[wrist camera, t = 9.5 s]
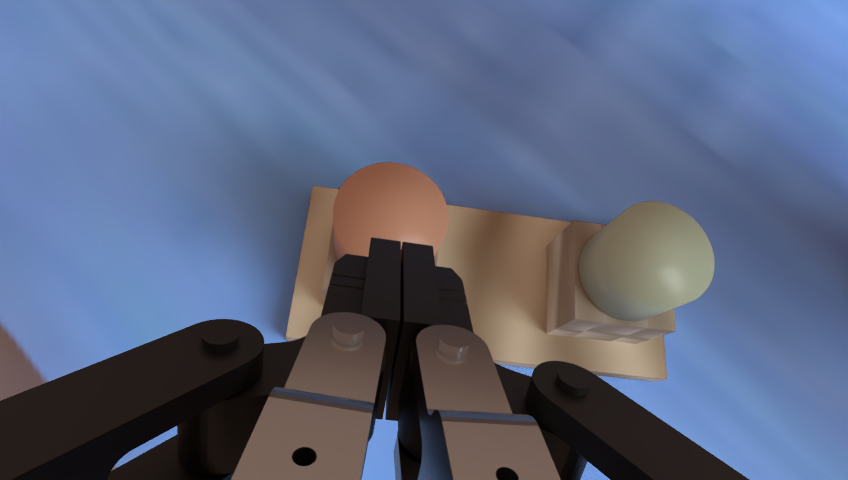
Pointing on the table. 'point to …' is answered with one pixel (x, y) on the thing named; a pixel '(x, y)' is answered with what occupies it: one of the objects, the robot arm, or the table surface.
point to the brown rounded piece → (388, 209)
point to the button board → (507, 291)
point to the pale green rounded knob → (646, 262)
